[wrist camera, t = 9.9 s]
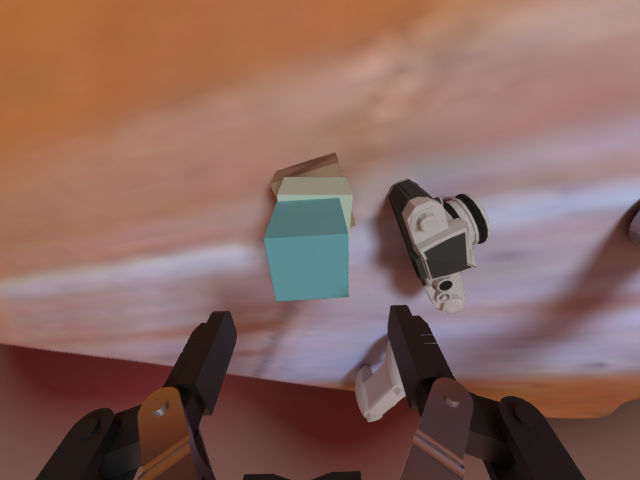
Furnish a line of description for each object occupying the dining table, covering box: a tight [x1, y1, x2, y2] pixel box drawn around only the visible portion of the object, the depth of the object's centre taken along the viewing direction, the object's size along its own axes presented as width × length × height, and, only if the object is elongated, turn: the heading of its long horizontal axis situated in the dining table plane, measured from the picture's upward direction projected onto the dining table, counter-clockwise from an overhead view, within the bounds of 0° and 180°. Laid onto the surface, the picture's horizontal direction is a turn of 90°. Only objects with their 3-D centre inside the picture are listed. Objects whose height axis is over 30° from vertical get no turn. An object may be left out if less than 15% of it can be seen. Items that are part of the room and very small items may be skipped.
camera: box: [388, 178, 491, 314], centre depth 28 cm, size 16×9×10 cm, turn 26°
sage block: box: [277, 177, 353, 248], centre depth 23 cm, size 6×6×5 cm
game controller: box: [355, 340, 406, 422], centre depth 41 cm, size 14×4×10 cm, turn 154°
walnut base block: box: [270, 152, 355, 227], centre depth 27 cm, size 7×7×5 cm
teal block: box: [264, 198, 348, 301], centre depth 18 cm, size 5×5×6 cm
